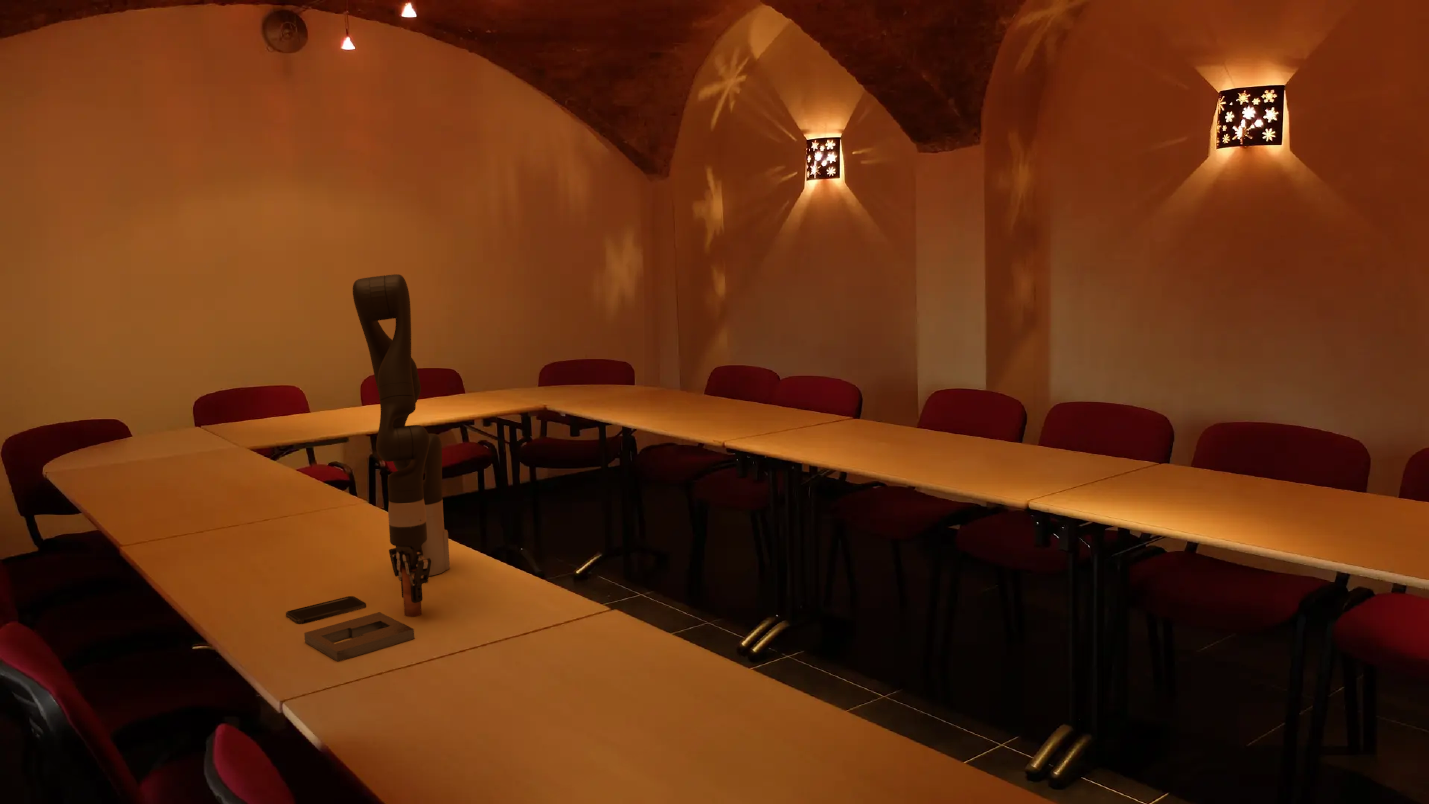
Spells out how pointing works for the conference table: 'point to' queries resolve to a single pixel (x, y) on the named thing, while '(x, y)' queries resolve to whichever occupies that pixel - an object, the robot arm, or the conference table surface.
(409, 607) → the peg
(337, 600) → the phone
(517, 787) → the conference table surface
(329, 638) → the keyhole plate
